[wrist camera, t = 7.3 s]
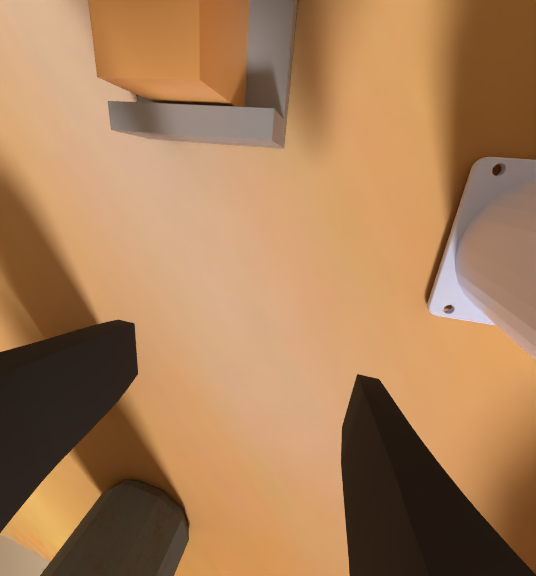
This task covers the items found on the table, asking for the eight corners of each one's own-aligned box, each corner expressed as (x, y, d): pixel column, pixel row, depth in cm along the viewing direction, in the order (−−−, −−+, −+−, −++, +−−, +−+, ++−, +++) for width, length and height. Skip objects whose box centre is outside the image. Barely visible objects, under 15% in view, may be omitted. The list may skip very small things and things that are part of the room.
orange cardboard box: (252, -53, 12) (197, -201, 7) (244, 113, 14) (199, 79, 9) (165, -47, 12) (67, -179, 8) (171, 109, 15) (97, 77, 10)
